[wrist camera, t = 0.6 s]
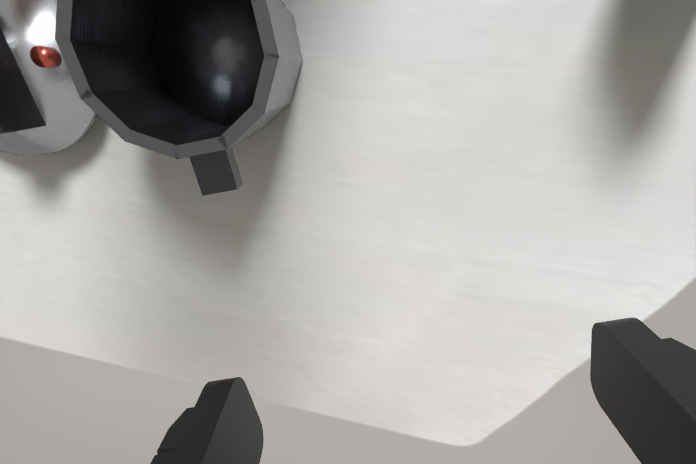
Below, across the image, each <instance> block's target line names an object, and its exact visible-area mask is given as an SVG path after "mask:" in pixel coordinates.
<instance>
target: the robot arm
mask: <svg viewBox="0 0 696 464" xmlns="http://www.w3.org/2000/svg"><path fill="white" fill-rule="evenodd" d="M591 383H592V388H593V391H594V394H595V396H596V399H597V401H598V403H599V404H600V406H601V408H602V409H603V411H604V412H605V413H606V415H607V416H608V417H609V419H610V420H611V422H612V423H613V424H614V426H615V427H616V428H617V430H618V431H619V433H620V434H621V436H622V437H623V438H624V440H625V441H626V443H627V444H628V445H629V447H630V448H631V449H632V451H633V452H634V453H635V455H636V456H637V458H638V459H639V460H640V462H641V463H642V464H696V350H694V349H692V348H690V347H688V346H686V345H684V344H682V343H680V342H678V341H676V340H674V339H672V338H667V339H660V338H659V337H658V336H657V335H656V334H655V333H654V332H652V331H651V330H650V329H649V328H648V327H647V326H646V325H645V324H644V323H642V322H641V321H640V320H638V319H637V318H626V319H619V320H613V321H606V322H600V323H595V324H594V326H593V328H592V343H591ZM262 449H263V429H262V424H261V421H260V419H259V416H258V414H257V411H256V409H255V406H254V404H253V401H252V399H251V396H250V394H249V391H248V389H247V386H246V384H245V382H244V380H243V379H242V378H240V377H237V378H230V379H224V380H217V381H211V382H208V383H207V384H206V385H205V387H204V388H203V390H202V392H201V395H200V397H199V399H198V401H197V403H196V405H195V407H193V408H187V409H186V410H185V411H184V412H183V414H182V415H181V416H180V417H179V418H178V419H177V420H176V421H175V422H174V424H173V425H172V426H171V427H170V428H169V429H168V431H167V433H166V435H165V437H164V439H163V441H162V443H161V445H160V447H159V448H158V450H157V452H158V453H157V455H155V456H154V458H153V460H152V462H151V464H259V462H260V458H261V454H262Z"/></svg>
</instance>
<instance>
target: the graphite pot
mask: <svg viewBox="0 0 696 464" xmlns="http://www.w3.org/2000/svg"><path fill="white" fill-rule="evenodd" d="M55 40H56V42H57V45H58V47H59V49H60V52H61V54H62V56H63V59H64V61H65V64H66V66H67V68H68V71H69V73H70V75H71V78H72V80H73V82H74V85H75V87H76V90H77V92H78V94H79V97H80V99H81V100H82V101H83V102H84V103H85V104H86V105H88V106H89V107H90V108H91V109H92V110H93V111H94V112H95V113H96V114H97V115H98V116H99V117H100V118H101V119H102V120H103V121H104V122H105V123H106V124H107V125H109V126H110V127H111V128H112V129H113V130H114V131H115V132H116V133H117V134H118V135H119V136H120V137H121V138H122V139H123V140H124V141H125V142H129V143H132V144H135V145H138V146H141V147H144V148H147V149H150V150H153V151H156V152H159V153H162V154H165V155H168V156H171V157H173V158H176V159H179V158H185V157H190V160H191V163H192V165H193V168H194V171H195V174H196V177H197V180H198V183H199V186H200V189H201V192H202V195H208V194H213V193H219V192H224V191H230V190H235V189H238V188H239V187H240V186H241V185H242V180H241V177H240V174H239V170H238V167H237V164H236V160H235V157H234V154H233V150H232V146H234V145H236V144H237V143H239V142H241V141H242V140H244V139H246V138H247V137H249V136H251V135H252V134H254V133H256V132H257V131H259V130H261V129H262V128H264V127H265V126H266V125H267V124H268V123H269V122H270V121H271V120H272V119H273V118H274V117H275V116H276V115H277V114H278V113H279V112H280V111H281V110H283V109H284V108H285V107H286V106H287V105H288V104H289V103H290V102H291V100H292V97H293V93H294V89H295V86H296V82H297V79H298V75H299V72H300V68H301V64H302V62H303V60H302V56H301V52H300V47H299V42H298V38H297V33H296V28H295V24H294V19H293V15H292V14H291V13H290V12H289V10H288V9H287V8H286V7H285V5H284V4H283V3H282V2H281V0H57V9H56V27H55Z"/></svg>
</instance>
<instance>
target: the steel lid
mask: <svg viewBox="0 0 696 464" xmlns="http://www.w3.org/2000/svg"><path fill="white" fill-rule="evenodd" d="M56 9H57V0H0V150H1V151H4V152H8V153H12V154H17V155H24V156H36V155H44V154H48V153H52V152H56V151H59V150H63V149H65V148H67V147H69V146H71V145H73V144H74V143H76V142H77V141H79V140H80V139H81V138H82V137H83V136H84V135H85V134H86V133H87V131H88V130H89V128H90V127H91V125H92V123H93V121H94V119H95V117H96V113H95V112H94V111H93V110H92V109H91V108H90V107H89V106H88V105H86V104H85V103H84V102H83V101H82V100H81V99H80V97H79V94H78V92H77V90H76V87H75V85H74V82H73V80H72V78H71V75H70V73H69V71H68V68H67V66H66V64H65V61H64V59H63V56H62V54H61V52H60V49H59V47H58V45H57V42H56V40H55V27H56Z"/></svg>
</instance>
